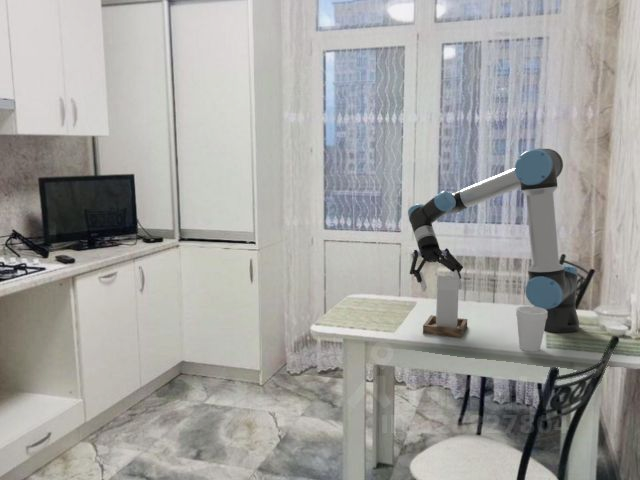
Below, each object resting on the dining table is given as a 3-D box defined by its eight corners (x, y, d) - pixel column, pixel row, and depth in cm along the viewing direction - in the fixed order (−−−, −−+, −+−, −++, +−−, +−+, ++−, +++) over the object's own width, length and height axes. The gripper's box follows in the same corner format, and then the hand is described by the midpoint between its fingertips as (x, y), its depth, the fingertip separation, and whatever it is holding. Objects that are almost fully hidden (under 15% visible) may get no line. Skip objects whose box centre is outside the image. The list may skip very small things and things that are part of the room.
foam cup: (513, 342, 197) (515, 305, 195) (542, 344, 195) (544, 306, 193) (516, 352, 188) (518, 313, 185) (547, 354, 186) (549, 314, 184)
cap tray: (467, 326, 214) (467, 319, 213) (461, 338, 202) (461, 329, 201) (430, 322, 219) (430, 315, 218) (422, 333, 207) (423, 325, 206)
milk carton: (457, 331, 206) (458, 278, 203) (436, 330, 207) (438, 278, 204) (455, 325, 213) (457, 274, 210) (435, 324, 214) (437, 273, 211)
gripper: (453, 244, 228) (470, 291, 216) (393, 247, 222) (406, 295, 210) (460, 233, 222) (478, 280, 210) (398, 235, 216) (412, 284, 204)
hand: (442, 288), depth 210 cm, fingers open, 13 cm apart
